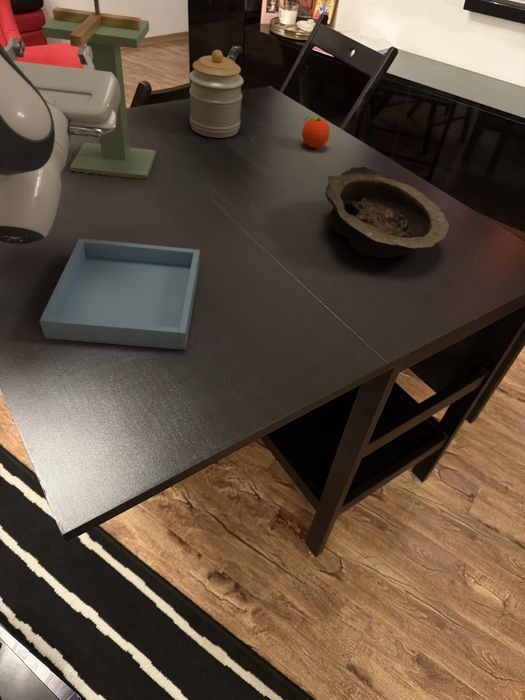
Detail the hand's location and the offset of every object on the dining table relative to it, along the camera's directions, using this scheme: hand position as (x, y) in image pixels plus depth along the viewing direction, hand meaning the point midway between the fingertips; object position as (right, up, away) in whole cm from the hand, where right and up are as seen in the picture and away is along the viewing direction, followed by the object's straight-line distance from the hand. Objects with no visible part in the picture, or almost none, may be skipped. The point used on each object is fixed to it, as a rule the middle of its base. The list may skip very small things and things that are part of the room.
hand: (52, 45), depth 67 cm
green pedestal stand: (-3, -2, +38) cm, 38 cm away
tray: (+9, -35, +8) cm, 37 cm away
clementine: (+42, +9, +55) cm, 70 cm away
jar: (+17, +14, +56) cm, 60 cm away
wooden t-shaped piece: (0, +11, +14) cm, 18 cm away
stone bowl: (+53, -20, +29) cm, 63 cm away
